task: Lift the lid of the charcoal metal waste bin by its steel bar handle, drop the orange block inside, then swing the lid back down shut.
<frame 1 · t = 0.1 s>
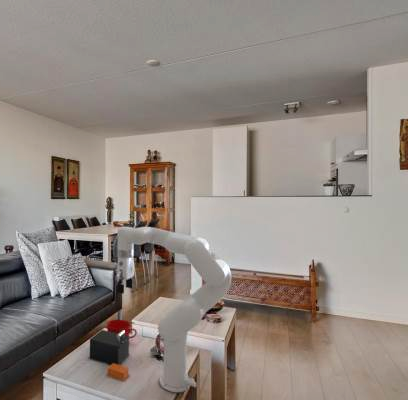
hand: (124, 290, 144), 37 cm above the table, tool pointing down, fingers open, 9 cm apart
packaged food: (162, 355, 158), on the table
bin lid: (110, 334, 155), point 11 cm above the table, hinge at 0.0°
bin: (109, 356, 155), on the table
orange block: (118, 375, 139), on the table
ceramic cup: (121, 343, 171), on the table
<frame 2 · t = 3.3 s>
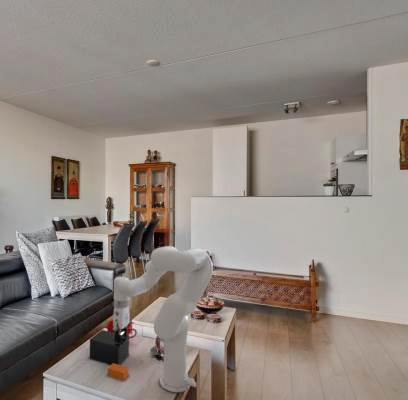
hand: (120, 338, 153), 10 cm above the table, tool pointing down, fingers closed on bin lid, 6 cm apart
bin lid: (110, 334, 155), point 11 cm above the table, hinge at 0.0°, touching gripper
everything else where it was.
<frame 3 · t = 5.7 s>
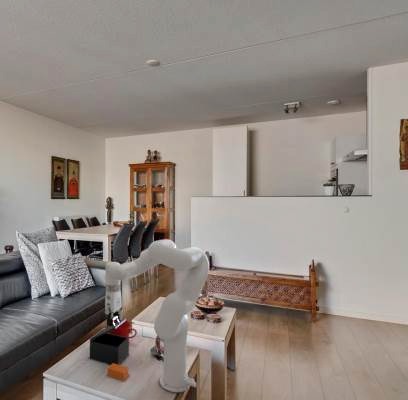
hand: (113, 323, 155), 17 cm above the table, tool pointing down, fingers closed on bin lid, 6 cm apart
bin lid: (106, 325, 156), point 15 cm above the table, hinge at 31.9°, touching gripper
everything else where it was.
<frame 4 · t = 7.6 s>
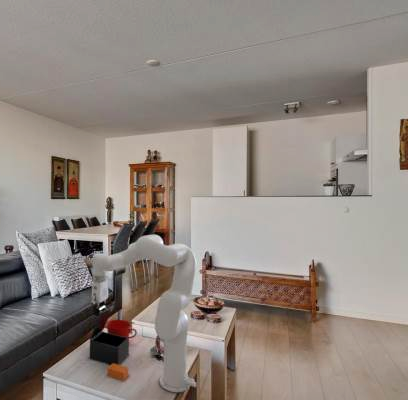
hand: (99, 312, 158), 21 cm above the table, tool pointing down, fingers closed on bin lid, 6 cm apart
bin lid: (99, 319, 158), point 18 cm above the table, hinge at 65.4°, touching gripper
everything else where it was.
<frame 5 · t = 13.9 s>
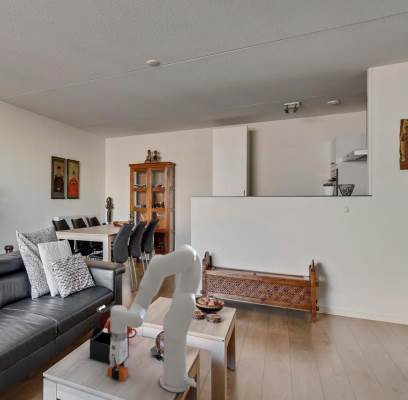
hand: (118, 374, 139), 0 cm above the table, tool pointing down, fingers closed on orange block, 5 cm apart
bin lid: (98, 319, 158), point 18 cm above the table, hinge at 65.8°
orange block: (118, 375, 139), on the table, touching gripper
everything else where it was.
when the fingers open (13 cm above the table, at t = 19.0 s): orange block drops 12 cm, resting on bin.
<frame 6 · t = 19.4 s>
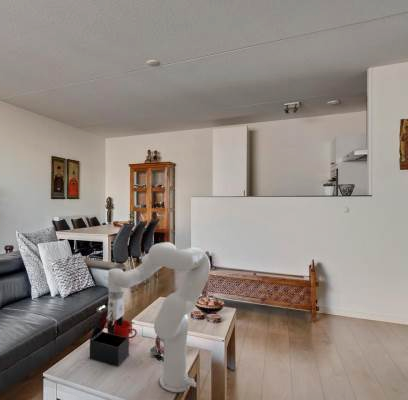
hand: (115, 328, 154), 15 cm above the table, tool pointing down, fingers open, 9 cm apart
orange block: (114, 356, 154), point 1 cm above the table, touching bin
everything else where it was.
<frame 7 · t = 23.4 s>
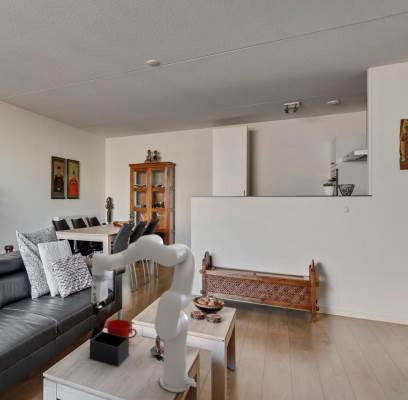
hand: (98, 312, 158), 21 cm above the table, tool pointing down, fingers closed on bin lid, 6 cm apart
bin lid: (97, 319, 159), point 18 cm above the table, hinge at 70.7°, touching gripper
everything else where it was.
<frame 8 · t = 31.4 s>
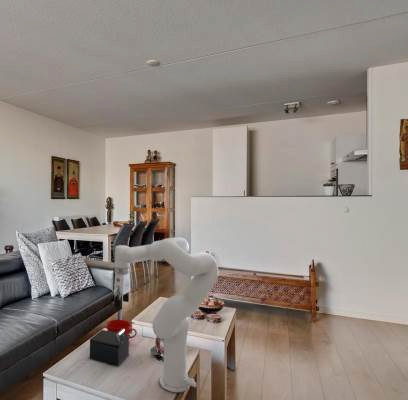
hand: (121, 304, 156), 26 cm above the table, tool pointing down, fingers open, 9 cm apart
bin lid: (110, 333, 155), point 12 cm above the table, hinge at 2.4°
everything else where it was.
at the end: bin lid reached +71° during the clip, +2° at the end; orange block inside the target area in the bin (3.0 cm from its centre), point 0.8 cm above the bin's base; bin lid at +2° (first picture: +0°) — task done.
